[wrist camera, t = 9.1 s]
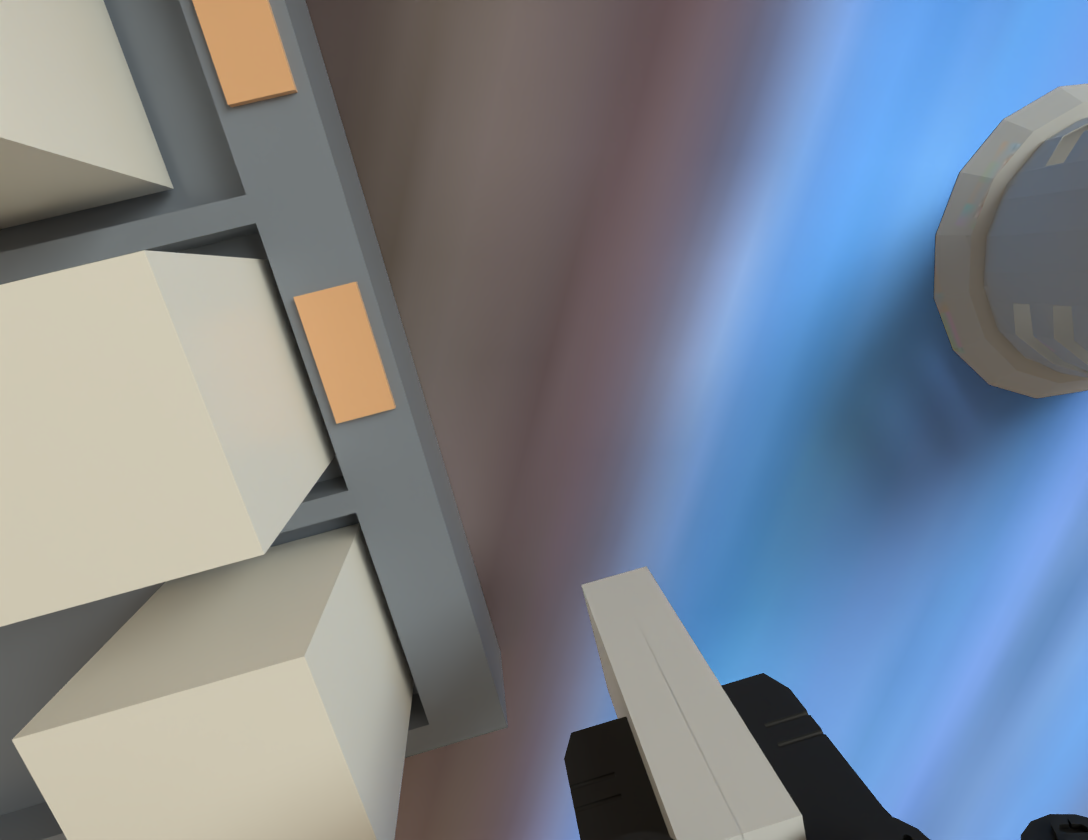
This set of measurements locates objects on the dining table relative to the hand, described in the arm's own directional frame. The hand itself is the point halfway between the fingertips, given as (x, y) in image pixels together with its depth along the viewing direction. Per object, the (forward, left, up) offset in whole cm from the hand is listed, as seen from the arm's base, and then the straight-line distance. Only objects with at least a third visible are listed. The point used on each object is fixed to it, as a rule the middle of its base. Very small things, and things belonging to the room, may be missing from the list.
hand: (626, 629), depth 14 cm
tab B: (-7, -8, -4) cm, 12 cm away
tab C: (0, -8, -4) cm, 9 cm away
